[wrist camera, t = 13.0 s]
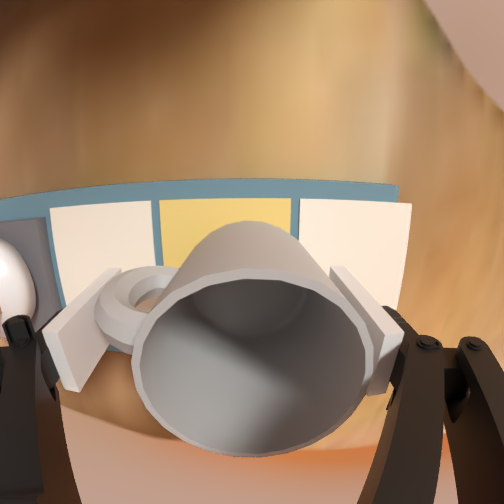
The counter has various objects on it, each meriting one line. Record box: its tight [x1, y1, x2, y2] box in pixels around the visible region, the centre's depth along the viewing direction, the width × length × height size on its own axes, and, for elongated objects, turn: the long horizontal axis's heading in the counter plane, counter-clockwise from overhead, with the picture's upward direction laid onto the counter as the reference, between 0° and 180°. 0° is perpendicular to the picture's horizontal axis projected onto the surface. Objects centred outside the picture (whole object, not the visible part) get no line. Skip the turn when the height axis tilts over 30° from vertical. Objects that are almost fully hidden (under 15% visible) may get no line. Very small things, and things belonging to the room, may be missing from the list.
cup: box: [94, 221, 374, 457], centre depth 12 cm, size 7×10×9 cm
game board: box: [0, 178, 412, 353], centre depth 16 cm, size 11×31×2 cm, turn 90°
